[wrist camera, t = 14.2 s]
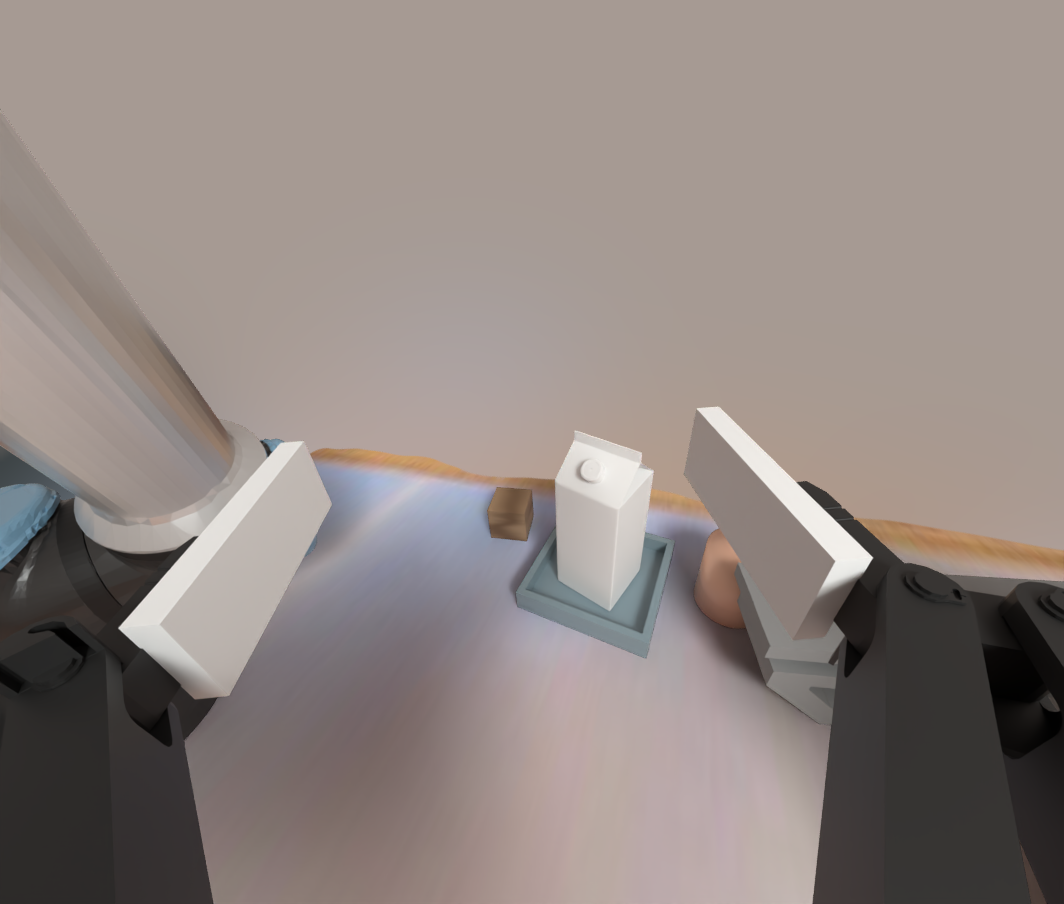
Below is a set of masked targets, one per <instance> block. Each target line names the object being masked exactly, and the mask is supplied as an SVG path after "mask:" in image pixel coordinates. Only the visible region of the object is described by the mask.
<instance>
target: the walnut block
mask: <svg viewBox="0 0 1064 904" xmlns="http://www.w3.org/2000/svg"><path fill="white" fill-rule="evenodd" d="M487 512H488V519H489V525H490V532H491V538H501V539H510V540H520V541H527V538H528V535H529V531H530V527H531V524H532V520H533V502H532V490H526V489H514V488H501V487H497V489H496V491H495V493H494V496H493V498H492V501H491V503H490V506H489V508H488V510H487Z"/></svg>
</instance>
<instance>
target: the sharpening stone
mask: <svg viewBox="0 0 1064 904" xmlns="http://www.w3.org/2000/svg"><path fill="white" fill-rule="evenodd" d="M734 575H735V578H736V581H737V583H738V586H739V589H740V595H739V598H738V600H737V603H738V605H739V608H740V611H741V614H742V617H743V620H744V623H745V626H746V629H747V631H748V634H749V637H750V640H751V643H752V646H753V649H754V652H755V655H756V657H757V660H758V663H759V666H760V669H761V672H762V675H763V678H764V681H765V683H766V686H768V687H769V688H770V689H772V690H773V691H775V692H776V693H777V694H779V695H780V696H781V697H783V698H784V699H786V700H787V701H788V702H790V703H791V704H792V705H794V706H795V707H797V708H798V709H799V710H801V711H802V712H803V713H805V714H806V715H808V716H809V717H810V718H812V719H813V720H815V721H816V722H817V723H819V724H824V725H831V724H832V715H833V705H834V696H835V686H836V677H837V667H838V660H837V661H836V663H835V664H834V666H833V665H831V664H829V663H828V662H829V660H830V658H831V656H832V654H833V653H834V651H835V650H836V648H837V647H838V645H839V644H840V642H841V640H842V639H843V637H844V636H845V635H844V634H843V632H842V631H841V630H840V629H839V627H838V626H837V625H836V623H835V622H833V624H832V626H831V627H830V629H829V631H828V632H827V634H826V635H825V637H823V638H813V639H803V640H792V639H791V637H790V636H789V634H788V633H787V631H786V629H785V628H784V626H783V625H782V623H781V622H780V620H779V619H778V617H777V616H776V614H775V613H774V611H773V610H772V608H771V607H770V605H769V603H768V602H767V600H766V599H765V597H764V596H763V594H762V593H761V591H760V590H759V588H758V587H757V585H756V584H755V582H754V581H753V579H752V577H751V576H750V574H749V573H748V571H747V570H746V568H745V567H744V565H743V564H742V563H738V564H737V567H736V569H735V572H734ZM945 576H947V577H948V578H950V579H951V580H953V581H955V582H956V583H958V584H959V585H960V586H961V587H962V588H963V589H964V590H968V591H974V592H980V593H986V594H993V595H999V596H1005V597H1006V596H1007V595H1008V594H1009V593H1010V592H1011V591H1012V590H1013V589H1014V588H1015V587H1016V586H1017V585H1018V584H1020V583H1024V582H1028V581H1031V582H1040V583H1047V584H1050V585H1053V586H1057V587H1060V588H1064V582H1062V581H1045V580H1028V579H1011V578H994V577H977V576H960V575H945ZM1048 697H1049V699H1050V700H1051V702H1052V704H1053V705H1054V706H1055V708H1056V709H1057V710H1058V711H1060V709H1059V707H1058V704H1057V702H1056V701H1055V699H1054V698H1053V696H1052V694H1051V693H1050V694H1048Z"/></svg>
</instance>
